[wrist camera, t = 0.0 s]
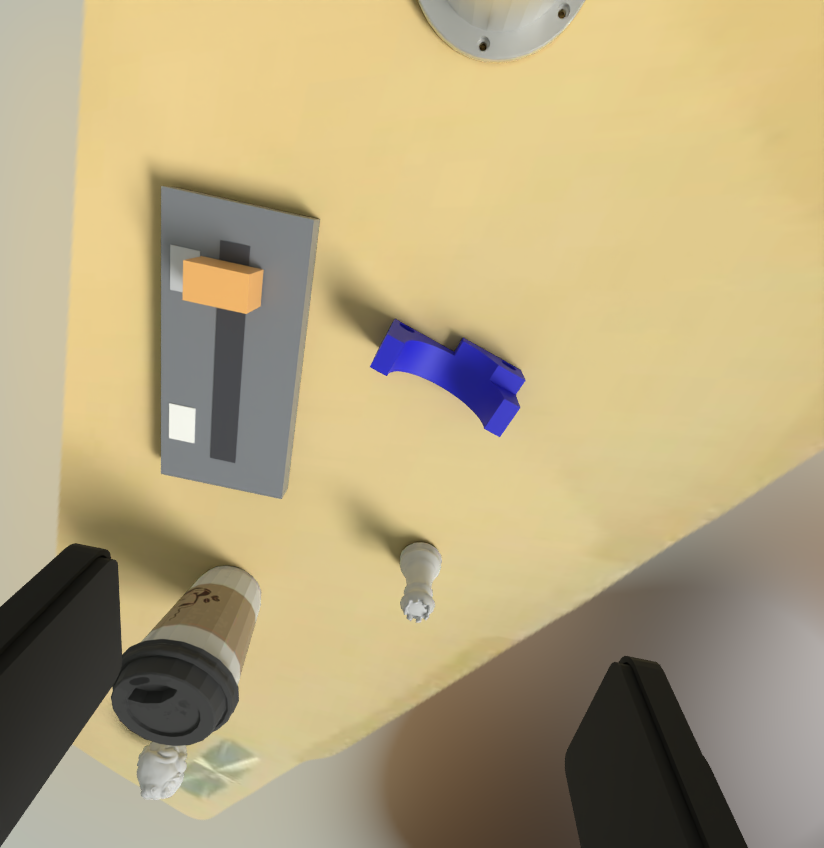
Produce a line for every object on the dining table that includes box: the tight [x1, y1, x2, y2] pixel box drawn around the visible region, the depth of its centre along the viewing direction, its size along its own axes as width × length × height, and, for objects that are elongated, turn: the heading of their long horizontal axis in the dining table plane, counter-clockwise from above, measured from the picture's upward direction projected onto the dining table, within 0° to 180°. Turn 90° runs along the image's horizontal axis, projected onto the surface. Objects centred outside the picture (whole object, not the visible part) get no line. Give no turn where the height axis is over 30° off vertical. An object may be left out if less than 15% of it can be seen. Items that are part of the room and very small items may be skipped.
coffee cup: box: [111, 566, 261, 746], centre depth 50 cm, size 11×11×15 cm
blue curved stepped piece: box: [370, 319, 525, 437], centre depth 42 cm, size 12×4×6 cm, turn 61°
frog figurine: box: [137, 742, 187, 800], centre depth 65 cm, size 6×7×7 cm
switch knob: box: [183, 256, 264, 314], centre depth 40 cm, size 3×5×3 cm, turn 78°
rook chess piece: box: [400, 542, 442, 623], centre depth 50 cm, size 4×4×8 cm
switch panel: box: [161, 186, 320, 499], centre depth 45 cm, size 26×12×2 cm, turn 168°
